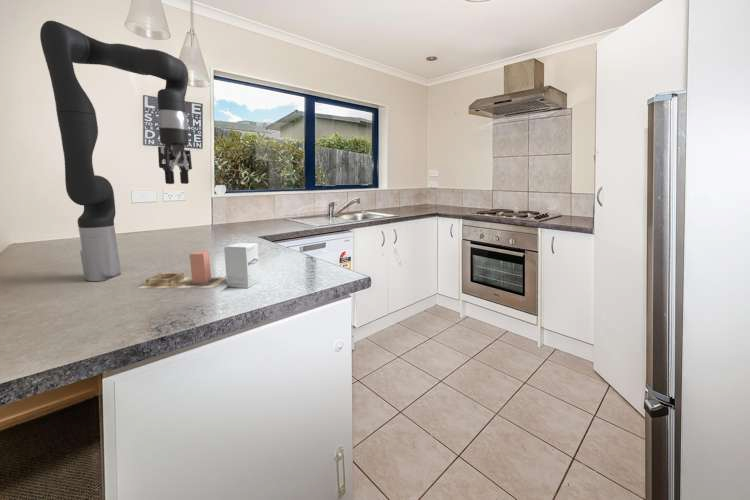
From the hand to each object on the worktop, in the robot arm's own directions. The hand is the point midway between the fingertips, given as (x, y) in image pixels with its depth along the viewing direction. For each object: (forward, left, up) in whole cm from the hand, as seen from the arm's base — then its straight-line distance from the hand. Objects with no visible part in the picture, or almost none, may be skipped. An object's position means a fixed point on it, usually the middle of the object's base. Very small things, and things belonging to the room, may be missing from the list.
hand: (177, 183), depth 110 cm
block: (+8, -3, -29) cm, 31 cm away
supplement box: (+19, +1, -31) cm, 37 cm away
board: (+2, -4, -31) cm, 31 cm away
